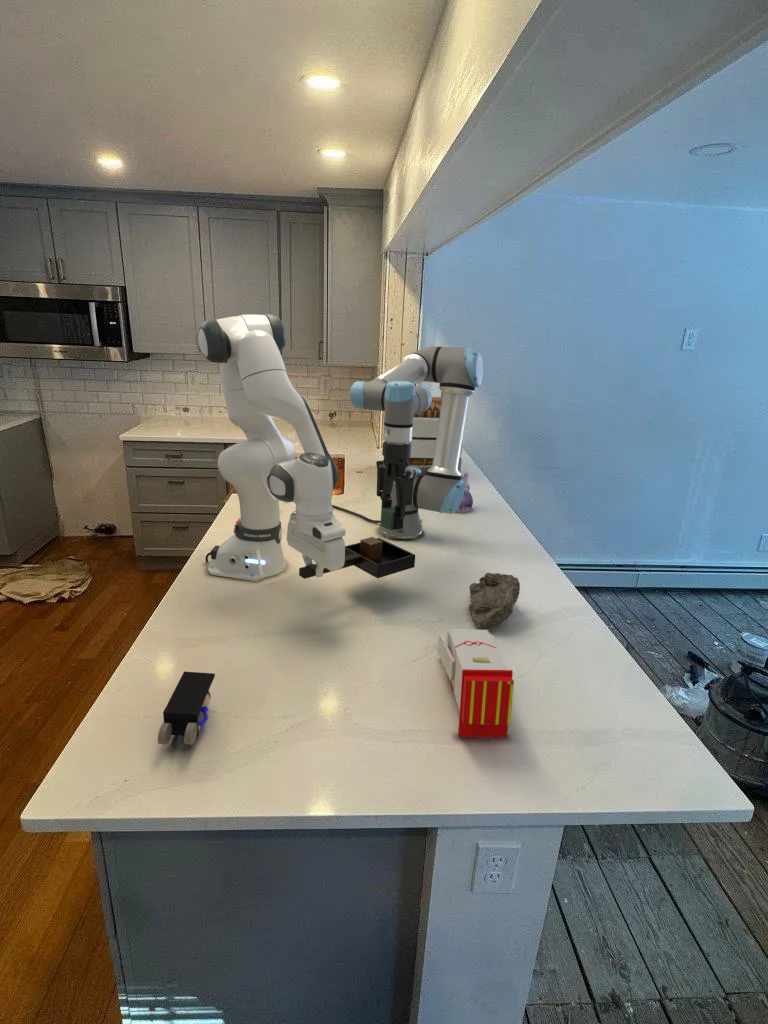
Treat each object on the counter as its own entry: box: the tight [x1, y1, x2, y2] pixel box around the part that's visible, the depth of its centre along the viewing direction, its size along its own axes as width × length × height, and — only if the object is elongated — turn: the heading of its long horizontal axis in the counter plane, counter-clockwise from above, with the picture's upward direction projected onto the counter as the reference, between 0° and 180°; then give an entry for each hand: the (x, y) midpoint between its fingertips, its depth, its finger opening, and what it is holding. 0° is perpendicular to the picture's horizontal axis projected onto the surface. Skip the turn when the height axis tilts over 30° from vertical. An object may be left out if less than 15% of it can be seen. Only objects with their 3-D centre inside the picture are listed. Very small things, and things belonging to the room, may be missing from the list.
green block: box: [379, 506, 395, 530], centre depth 155 cm, size 4×4×5 cm
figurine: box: [455, 472, 474, 514], centre depth 225 cm, size 9×10×15 cm
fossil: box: [468, 572, 521, 630], centre depth 149 cm, size 22×10×15 cm
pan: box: [298, 537, 416, 580], centre depth 148 cm, size 15×31×4 cm, turn 131°
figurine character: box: [157, 670, 216, 749], centre depth 104 cm, size 7×8×15 cm
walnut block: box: [359, 536, 383, 561], centre depth 156 cm, size 4×4×5 cm
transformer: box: [408, 391, 465, 475], centre depth 268 cm, size 34×33×41 cm
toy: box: [437, 628, 515, 738], centre depth 117 cm, size 12×13×30 cm
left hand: (314, 573), depth 141 cm, fingers closed on pan, 2 cm apart
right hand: (392, 525), depth 156 cm, fingers closed on green block, 4 cm apart
